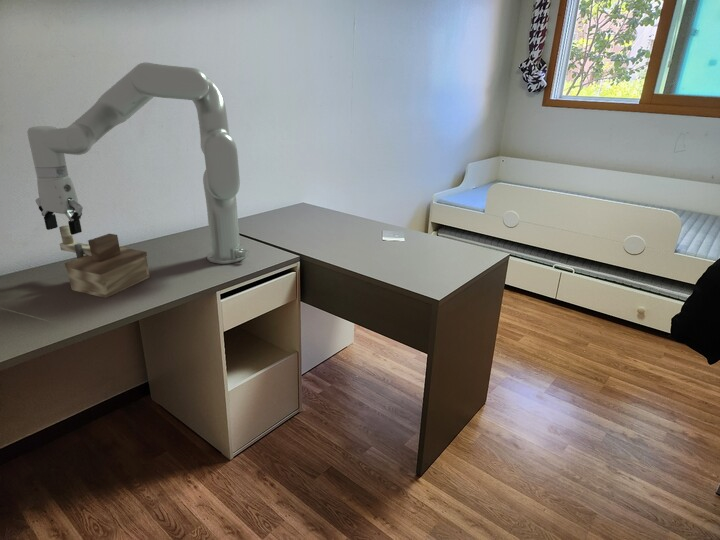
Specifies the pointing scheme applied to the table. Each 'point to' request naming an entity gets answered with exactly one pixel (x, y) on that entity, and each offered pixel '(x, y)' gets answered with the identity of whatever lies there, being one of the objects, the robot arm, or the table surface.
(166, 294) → the table surface
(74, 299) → the table surface
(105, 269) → the lid
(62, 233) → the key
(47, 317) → the table surface
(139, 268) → the light wooden box
